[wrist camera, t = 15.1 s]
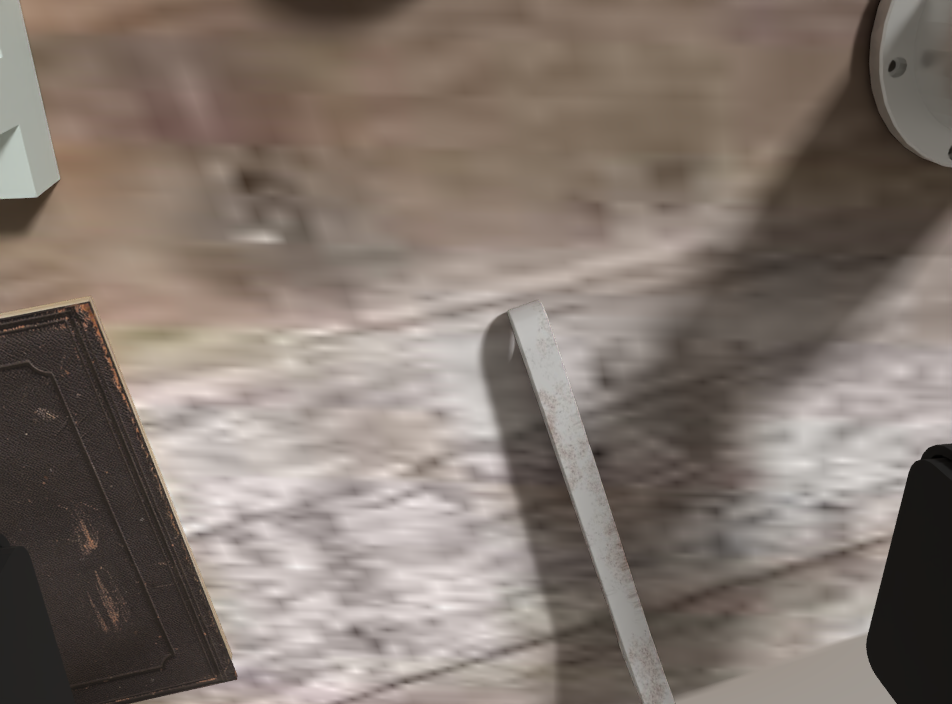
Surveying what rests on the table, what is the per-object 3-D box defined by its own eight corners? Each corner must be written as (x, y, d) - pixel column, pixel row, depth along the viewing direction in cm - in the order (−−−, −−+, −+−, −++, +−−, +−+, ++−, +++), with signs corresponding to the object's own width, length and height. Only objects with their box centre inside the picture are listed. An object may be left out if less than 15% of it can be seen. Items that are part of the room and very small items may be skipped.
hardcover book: (101, 285, 38) (87, 303, 36) (241, 649, 48) (236, 680, 46) (-259, 355, 37) (-295, 378, 35) (-39, 711, 47) (-57, 746, 45)
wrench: (527, 278, 44) (666, 702, 54) (494, 290, 44) (639, 712, 54) (558, 323, 36) (712, 807, 46) (518, 338, 36) (681, 817, 46)
